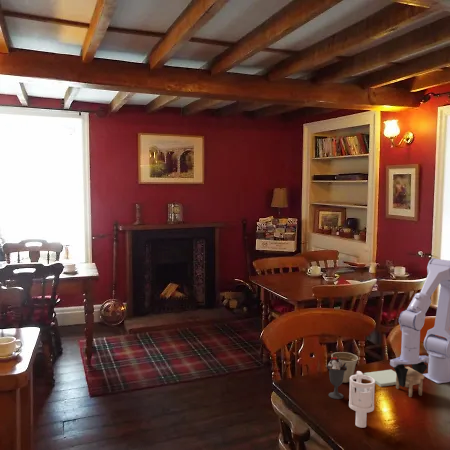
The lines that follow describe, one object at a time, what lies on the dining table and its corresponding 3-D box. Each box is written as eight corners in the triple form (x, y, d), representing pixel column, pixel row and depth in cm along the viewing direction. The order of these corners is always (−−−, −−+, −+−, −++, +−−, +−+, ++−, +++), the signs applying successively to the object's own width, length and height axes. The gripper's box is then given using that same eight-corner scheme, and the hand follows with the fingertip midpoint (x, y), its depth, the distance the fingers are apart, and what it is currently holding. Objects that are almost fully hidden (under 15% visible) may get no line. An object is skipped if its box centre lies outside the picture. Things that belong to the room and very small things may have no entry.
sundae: (323, 391, 156) (324, 349, 155) (342, 391, 157) (343, 348, 155) (329, 400, 149) (330, 356, 148) (349, 400, 150) (350, 355, 149)
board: (391, 372, 174) (391, 369, 173) (409, 382, 164) (409, 380, 164) (363, 375, 170) (363, 373, 170) (380, 386, 160) (380, 383, 160)
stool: (407, 385, 161) (408, 366, 161) (423, 395, 154) (424, 375, 153) (394, 387, 160) (395, 368, 159) (410, 397, 152) (410, 377, 152)
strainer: (368, 419, 138) (370, 370, 136) (376, 431, 131) (378, 380, 129) (345, 419, 137) (346, 370, 136) (352, 431, 130) (354, 380, 129)
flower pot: (354, 375, 171) (355, 352, 170) (359, 385, 161) (360, 361, 161) (329, 373, 172) (329, 351, 171) (332, 384, 162) (333, 360, 162)
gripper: (419, 340, 162) (418, 377, 163) (384, 344, 157) (383, 382, 158) (434, 346, 155) (432, 385, 156) (398, 351, 151) (396, 390, 152)
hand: (408, 384), depth 157 cm, fingers closed on stool, 5 cm apart
